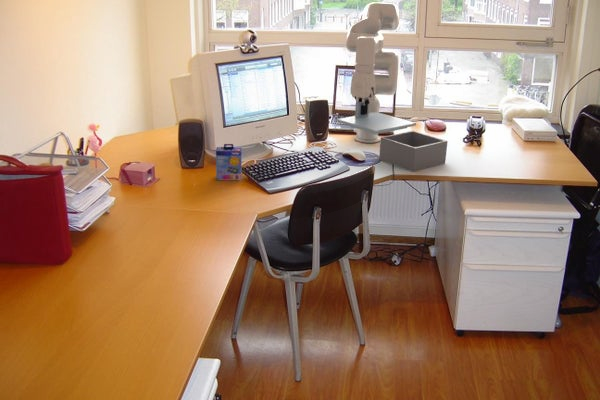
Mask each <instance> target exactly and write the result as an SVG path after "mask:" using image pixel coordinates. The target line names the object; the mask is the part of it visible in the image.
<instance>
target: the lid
mask: <svg viewBox="0 0 600 400" xmlns="http://www.w3.org/2000/svg"><path fill="white" fill-rule="evenodd" d="M361 105H362V102H356V101H355V109H354V110H355V112H354V115H352V116H348V117H347V116H346V117H341V118H337V120H336V122H339V123H341V124H344V125H345V126H348V127H351V128H354V129H355V128H357V129H360V130H364V131H367V132H370V133H373V134H378V135H379V134H384V133H390V132H394V131H399V130H403V129H408V128H409V127H414V126H417V122H414V121H411V120H407V119H403V118H401V117H396V116H394V115H393V116H391V115H388V114H385V113H381V112H379V113H378V112H374V113H369V105H368V109H367V114H366V115H361Z"/></svg>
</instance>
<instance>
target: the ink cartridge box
mask: <svg viewBox="0 0 600 400" xmlns="http://www.w3.org/2000/svg"><path fill="white" fill-rule="evenodd" d="M215 173H216V181H241V180H242V147H241V146H234V143H224V144H223V146H216V148H215Z"/></svg>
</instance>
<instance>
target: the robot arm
mask: <svg viewBox="0 0 600 400" xmlns="http://www.w3.org/2000/svg"><path fill="white" fill-rule="evenodd" d="M399 23H400V15H399V8H398V6H397V5H396V4H395V3H391V2H371V3H368V4H367V5H365V7H364V10H362V11H361V12H360V14H359V20H358V21H357V22H355V23H354V24H352V25H351V26H350V28H349V29H348V33H347V36H346V40H345V41H346V42H345V45H346V49H347V51H348V52H350V53H355V61H354V62H355V64H354V70H353V73H352V77H351V82H350V95H351V96H352V98H353V99H355V103H356V102H362V105H361V115H366V114H367V109H368V105H369V113H374V112H378V113H380V108H381V103H380V101H379V99H378V98H377V96H378V95H379V96H393V95H395V94H396V91H397V88H398V87H397V86H398V75H399V54H398V52H397V51H396V50H394V49H393V50H391V49H384V37H383V35H382V33H381V31H389V32H390V31H391V32H392V31H396V30H397V29H398V27H399ZM375 71H380V72H387V74H385V73H375ZM376 95H377V96H376ZM353 132H354V133H356V135H354V140H355V141H356V142H359V143H365V144H366V143H367V144H374V143H380V142H381V137H382V136H379V134H373V133H370V132H367V131H364V130H360V129H357V128H354V129H353Z"/></svg>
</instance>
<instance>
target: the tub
mask: <svg viewBox="0 0 600 400" xmlns="http://www.w3.org/2000/svg"><path fill="white" fill-rule="evenodd" d="M380 137H381V140H380V141H379V143H380V144H379V145H380V146H379V155H378V157H379V158H378V159H379V160H380V161H382V162H385V163H387V164H391V165H393V166H396V167H399V168H401V169H405V170H407V171H411V172H413V173H414V172H418V171H421V170H425V169H426V170H427V169H429V168H433V167H437V166H440V165H445V164H446V160H447V159H446V158H447V148H448V142H449V141H448V140H445V139H442V138H438V137H435V136H431V135H429V134H426V133H422V132H418V131H415V130H410V131H404V132H399V133H395V134H391V135H386V136H380Z"/></svg>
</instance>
